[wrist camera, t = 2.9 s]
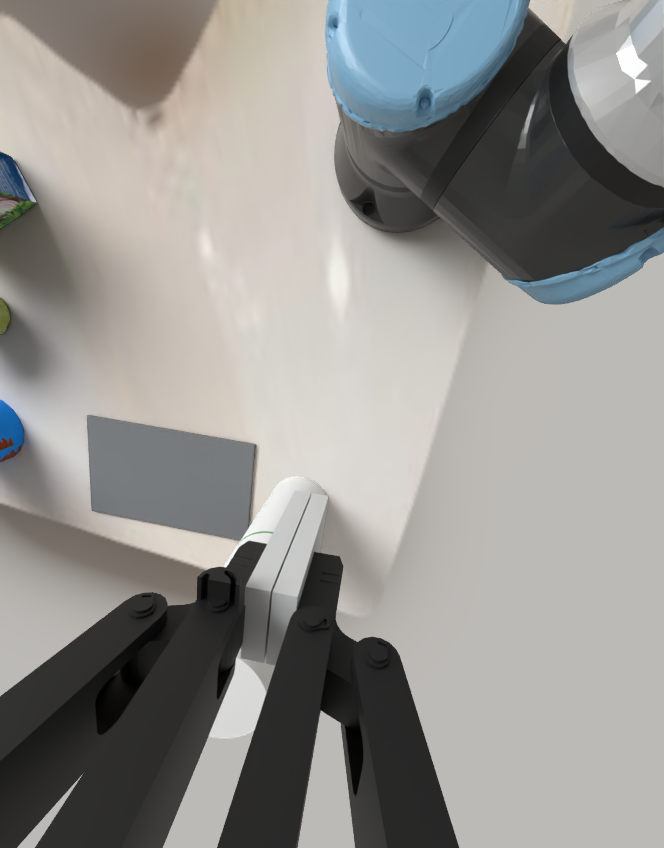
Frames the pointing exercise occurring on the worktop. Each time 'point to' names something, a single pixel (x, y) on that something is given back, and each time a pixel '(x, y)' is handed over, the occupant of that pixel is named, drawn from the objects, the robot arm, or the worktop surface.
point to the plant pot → (4, 316)
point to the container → (249, 675)
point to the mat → (170, 477)
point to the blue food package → (12, 191)
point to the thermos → (9, 432)
